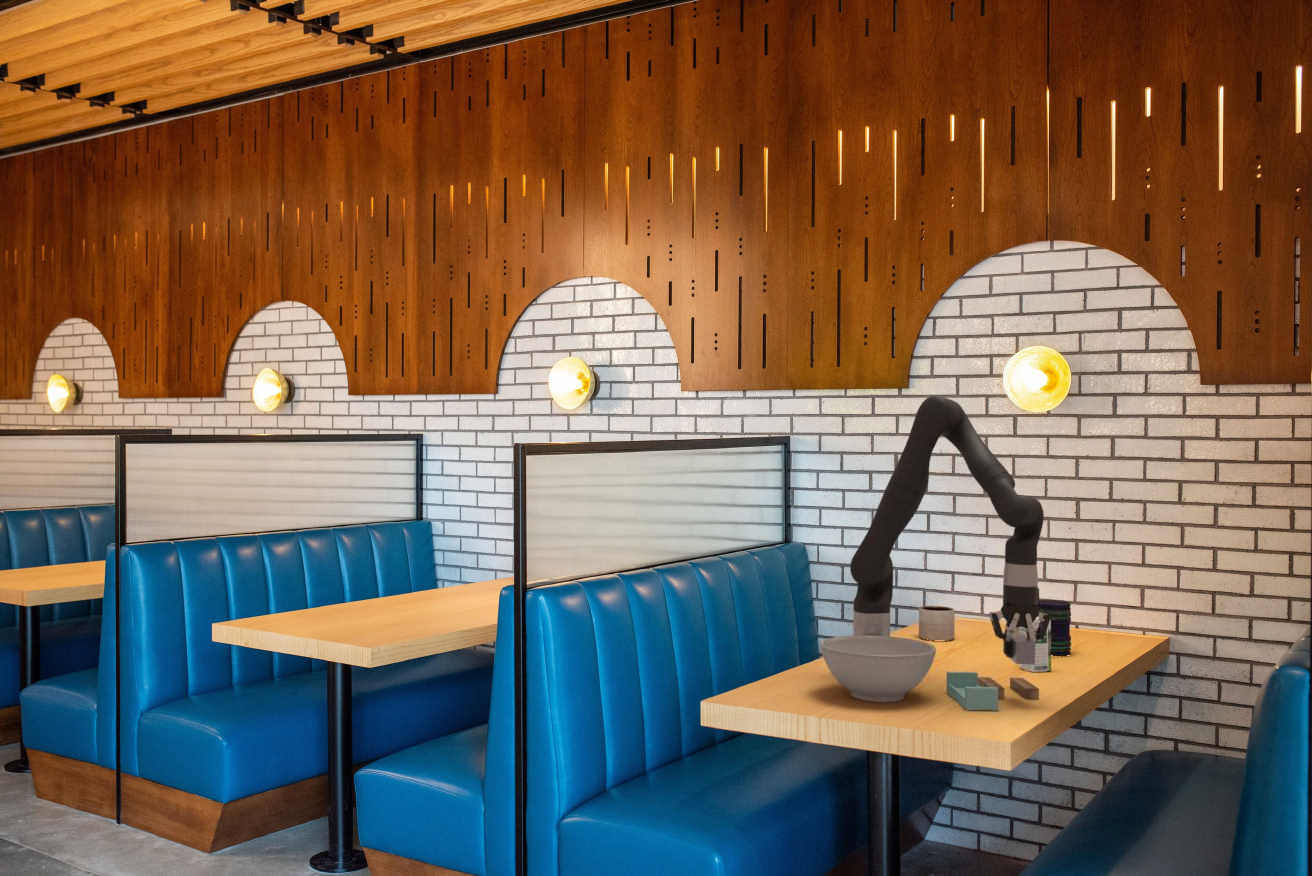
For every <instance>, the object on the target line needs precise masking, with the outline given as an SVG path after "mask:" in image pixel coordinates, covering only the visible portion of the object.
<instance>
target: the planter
mask: <svg viewBox="0 0 1312 876" xmlns="http://www.w3.org/2000/svg"><path fill="white" fill-rule="evenodd" d="M955 635H956V634H955V609H954V608H953V607H950V606H949V607H948V606H941V605H940V606H939V605H922V606H920V607H918V637H919V638H920V639H921V638H922V639H921V640H923V639H928V640H951V639H953V640H954V639H955V637H956V636H955Z"/></svg>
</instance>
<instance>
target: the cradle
mask: <svg viewBox="0 0 1312 876" xmlns="http://www.w3.org/2000/svg"><path fill="white" fill-rule="evenodd" d="M978 675H979V674H978V672H977V671H946V694H948V695H949V696H950V697H951V696H952V697H953V698H954V699H955V700H954V699H953V700H954V701H955V702H956V703H957V704H959V705H960V706H961V707H962V708H963V707H964V708H965V710H966V711H967V710H993V711H992V712H999V699H998V688H997V687H980V686H978V677H979V676H978ZM952 697H951V698H952ZM964 708H963V709H964ZM995 710H996V711H995Z"/></svg>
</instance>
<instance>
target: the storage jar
mask: <svg viewBox="0 0 1312 876" xmlns="http://www.w3.org/2000/svg"><path fill="white" fill-rule="evenodd" d="M1071 605H1072V604H1071V601H1065V600H1056V599H1039V600H1037V608H1038V610H1039V612H1041V613H1046V614H1048V615H1050V616H1051V655H1053V656H1067V655H1070V654H1071V647H1072V636H1071V635H1070V634H1071V632H1070V631H1071V623H1072V612H1071V611H1072V608H1071ZM1071 655H1072V654H1071Z"/></svg>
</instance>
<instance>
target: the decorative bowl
mask: <svg viewBox="0 0 1312 876" xmlns="http://www.w3.org/2000/svg"><path fill="white" fill-rule="evenodd" d="M819 647H820V651H821V654H822V657H823V660H824V662H825V664H826V666H827V669H828V670H829V672H830V673H831V675H832V676H833V677H834V678H835V680H836V681H837V683H839V684H840V685H841V686H843V687H844V688H846V689H847V690H849V691H850V696H851V695H852V696H853V697H852V696H851V697H852V698H854V697H855V698H854V699H858V700H860V699H861V701H865V700H866V701H865V702H872V701H873V703H893V702H899V701H902V700H903V699H904V698H905V695H906V693H908V692H911V691H912V690H913V689H915V688H916V687H917V686H918V685H919V684H920V683H921V682H922V681H923V680H924V679H925V678H926V676H927V675H928V673H929V671H930V669H931V667H932V666H933V662H934V659H935V657H936V653H937V648H936V647H935V646H934V644H931V643H928V642H925V641H924V640H917V639H912V638H906V637H898V636H890V637H889V636H853V635H845V636H836V637H835V636H834V637H830V638H827V639H824V640H821V642H820V645H819Z"/></svg>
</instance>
